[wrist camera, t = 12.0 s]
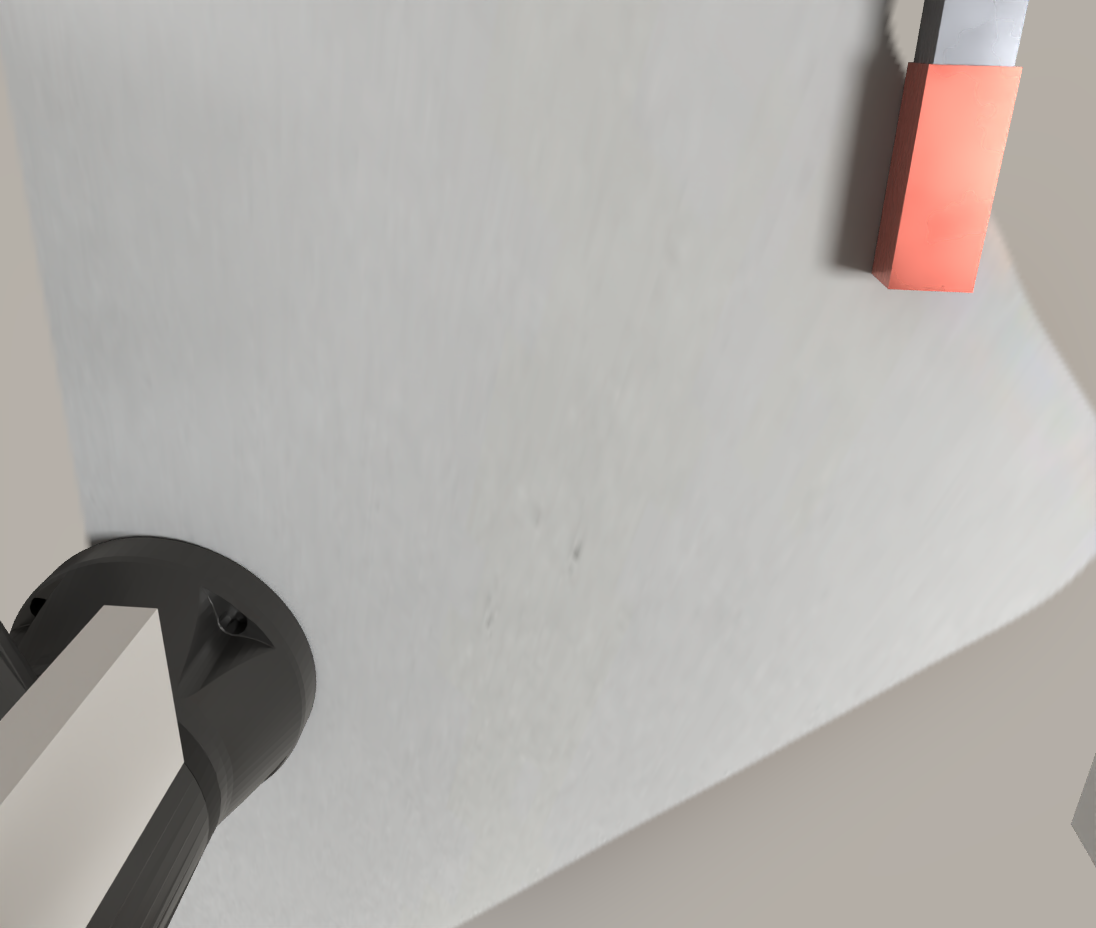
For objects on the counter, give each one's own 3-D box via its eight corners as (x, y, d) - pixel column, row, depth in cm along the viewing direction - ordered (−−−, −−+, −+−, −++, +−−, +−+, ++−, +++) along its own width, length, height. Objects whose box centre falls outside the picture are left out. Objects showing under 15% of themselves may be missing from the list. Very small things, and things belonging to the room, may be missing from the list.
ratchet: (839, 271, 39) (879, 314, 33) (936, -339, 30) (1014, -429, 24) (983, 278, 38) (1049, 322, 33) (1120, -337, 30) (1244, -428, 24)
